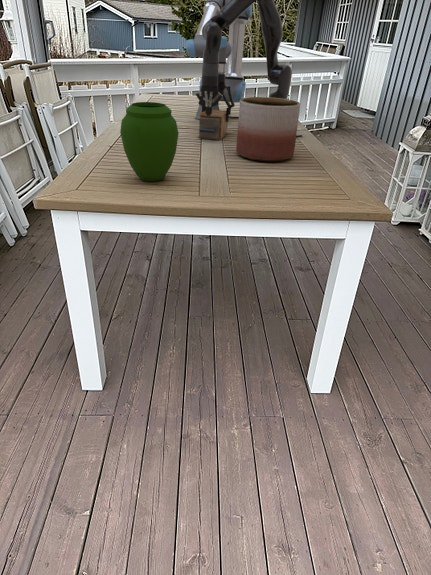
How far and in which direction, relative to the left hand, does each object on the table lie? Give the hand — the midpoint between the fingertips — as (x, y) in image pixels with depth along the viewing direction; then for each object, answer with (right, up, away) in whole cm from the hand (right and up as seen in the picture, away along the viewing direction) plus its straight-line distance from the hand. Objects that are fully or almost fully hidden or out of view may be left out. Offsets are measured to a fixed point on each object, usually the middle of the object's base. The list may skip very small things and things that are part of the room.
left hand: (215, 120), depth 212 cm
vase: (-23, -48, -66) cm, 84 cm away
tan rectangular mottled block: (-1, -8, -1) cm, 8 cm away
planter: (+21, -28, -31) cm, 47 cm away
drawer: (-2, -10, -6) cm, 12 cm away
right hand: (-3, -5, -18) cm, 19 cm away
